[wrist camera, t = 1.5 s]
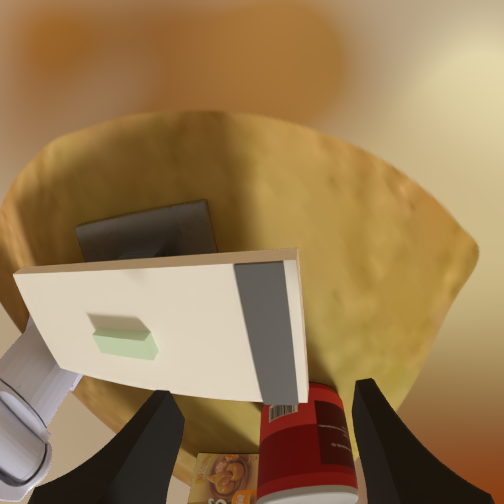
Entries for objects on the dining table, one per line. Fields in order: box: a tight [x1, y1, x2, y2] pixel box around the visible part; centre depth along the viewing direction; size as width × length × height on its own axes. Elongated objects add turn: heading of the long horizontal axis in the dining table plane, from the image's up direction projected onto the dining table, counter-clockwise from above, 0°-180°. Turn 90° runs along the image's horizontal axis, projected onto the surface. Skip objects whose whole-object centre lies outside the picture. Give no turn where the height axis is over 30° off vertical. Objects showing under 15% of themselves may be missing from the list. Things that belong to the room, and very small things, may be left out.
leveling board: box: [13, 248, 309, 405], centre depth 16 cm, size 20×9×3 cm, turn 100°
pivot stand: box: [75, 199, 218, 263], centre depth 19 cm, size 10×12×4 cm
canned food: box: [256, 383, 358, 504], centre depth 20 cm, size 8×8×11 cm
